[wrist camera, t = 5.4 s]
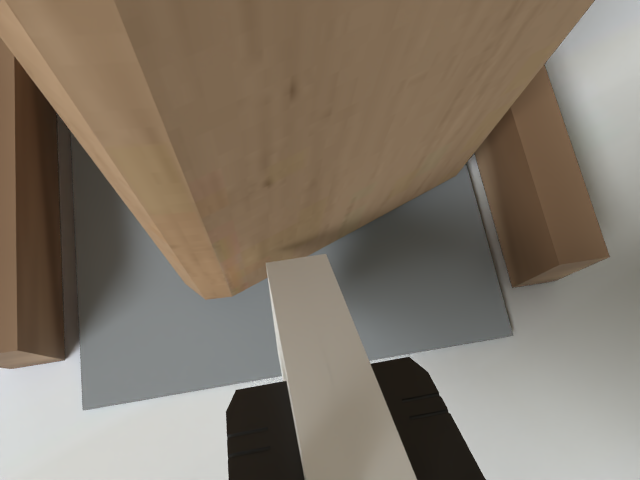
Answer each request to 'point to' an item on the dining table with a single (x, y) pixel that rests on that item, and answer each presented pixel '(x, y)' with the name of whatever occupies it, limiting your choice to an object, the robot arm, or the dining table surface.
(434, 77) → the wooden block
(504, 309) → the grey square panel
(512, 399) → the dining table surface
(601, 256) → the lane rails
